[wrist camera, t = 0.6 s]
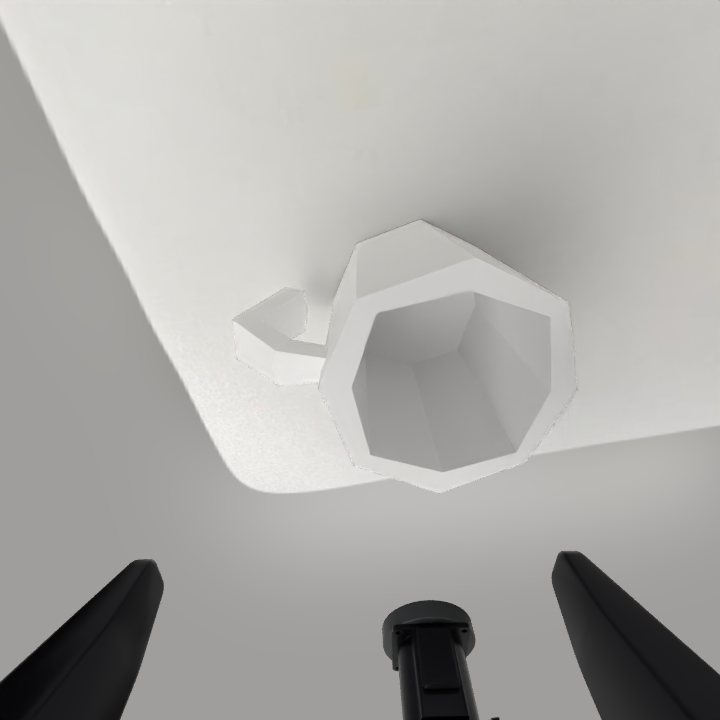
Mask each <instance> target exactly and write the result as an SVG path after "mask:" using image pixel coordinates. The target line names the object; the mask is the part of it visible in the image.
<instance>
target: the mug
mask: <svg viewBox="0 0 720 720" xmlns="http://www.w3.org/2000/svg"><path fill="white" fill-rule="evenodd" d="M307 312H308V309H307V303H306V297H305V292H304V290H298V289H292V288H286V287H285V288H284V289H282V290H280V291H279V292H277V293H275V294H274V295H272V296H270V297H269V298H267V299H265V300H264V301H262V302H260V303H259V304H257V305H255V306H254V307H252V308H250V309H249V310H247V311H245V312H244V313H242V314H240V315H239V316H237V317H235V318H234V319H232V322H233V329H234V336H235V346H236V355H237V360H239V361H240V362H242V363H243V364H245V365H246V366H248V367H249V368H251V369H252V370H254V371H256V372H257V373H259V374H260V375H262V376H263V377H265V378H266V379H268V380H269V381H271V382H272V383H274V384H275V385H277V386H286V385H298V384H310V383H319V384H318V389H319V391H320V393H321V395H322V398H323V400H324V402H325V404H326V406H327V408H328V411H329V413H330V415H331V417H332V419H333V422H334V424H335V426H336V428H337V430H338V433H339V435H340V437H341V439H342V441H343V444H344V446H345V448H346V450H347V452H348V455H349V457H350V459H351V461H352V463H353V466H356V467H359V468H362V469H365V470H368V471H371V472H374V473H377V474H380V475H383V476H386V477H390V478H393V479H396V480H399V481H402V482H405V483H409V484H411V485H414V486H417V487H421V488H424V489H427V490H430V491H433V492H436V493H443V492H445V491H448V490H451V489H454V488H456V487H459V486H462V485H464V484H467V483H470V482H473V481H476V480H478V479H481V478H484V477H487V476H489V475H492V474H495V473H497V472H500V471H503V470H506V469H509V468H512V467H514V466H517V465H520V464H523V463H525V462H526V461H527V460H528V459H529V457H530V456H531V454H532V453H533V452H534V450H535V449H536V448H537V446H538V445H539V443H540V442H541V441H542V439H543V438H544V437H545V435H546V434H547V432H548V431H549V430H550V428H551V427H552V425H553V424H554V423H555V421H556V420H557V419H558V417H559V416H560V414H561V413H562V412H563V410H564V409H565V408H566V406H567V405H568V403H569V402H570V401H571V399H572V398H573V397H574V395H575V394H576V392H577V391H578V388H577V378H576V367H575V357H574V346H573V336H572V325H571V315H570V304H569V303H568V302H567V301H565V300H563V299H562V298H560V297H558V296H557V295H555V294H553V293H552V292H550V291H548V290H547V289H545V288H544V287H542V286H540V285H539V284H537V283H535V282H534V281H532V280H530V279H529V278H527V277H525V276H524V275H522V274H520V273H519V272H517V271H515V270H514V269H512V268H510V267H509V266H507V265H505V264H504V263H502V262H500V261H499V260H497V259H495V258H494V257H492V256H490V255H489V254H487V253H485V252H484V251H482V250H480V249H479V248H477V247H475V246H474V245H472V244H470V243H468V242H465V241H463V240H461V239H459V238H457V237H455V236H453V235H451V234H449V233H447V232H445V231H443V230H441V229H439V228H437V227H435V226H433V225H431V224H429V223H427V222H425V221H423V220H421V219H420V220H417V221H415V222H412V223H409V224H407V225H404V226H401V227H399V228H396V229H393V230H391V231H388V232H385V233H383V234H380V235H377V236H375V237H372V238H369V239H367V240H364V241H362V242H359V243H357V244H356V246H355V249H354V251H353V253H352V256H351V258H350V261H349V263H348V266H347V268H346V270H345V273H344V275H343V278H342V280H341V283H340V285H339V288H338V290H337V292H336V295H335V297H334V303H333V308H332V314H331V319H330V324H329V330H328V335H327V340H326V345H320V344H314V343H308V342H302V341H296V340H292V339H293V338H295V337H296V336H298V335H299V334H301V333H303V332H304V331H305V330H306V321H307Z"/></svg>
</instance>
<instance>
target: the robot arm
mask: <svg viewBox="0 0 720 720" xmlns="http://www.w3.org/2000/svg"><path fill="white" fill-rule="evenodd" d="M552 584H553V588H554V591H555V594H556V597H557V600H558V603H559V606H560V609H561V613H562V616H563V619H564V622H565V625H566V628H567V631H568V634H569V637H570V640H571V643H572V647H573V650H574V653H575V655H576V658H577V661H578V664H579V667H580V669H581V672H582V674H583V677H584V679H585V681H586V684H587V686H588V688H589V691H590V693H591V696H592V698H593V700H594V703H595V705H596V707H597V710H598V712H599V714H600V717H601V719H602V720H720V675H719V674H718V673H717V672H716V671H715V670H714V669H713V668H712V667H710V666H709V665H708V664H707V663H706V662H705V661H704V660H702V659H701V658H700V657H699V656H698V655H697V654H696V653H694V652H693V651H692V650H691V649H690V648H689V647H688V646H687V645H685V644H684V643H683V642H682V641H681V640H680V639H679V638H677V637H676V636H675V635H674V634H673V633H672V632H671V631H670V630H668V629H667V628H666V627H665V626H664V625H663V624H662V623H661V622H659V621H658V620H657V619H656V618H655V617H654V616H653V615H651V614H650V613H649V612H648V611H647V610H646V609H644V608H643V607H642V606H641V605H640V604H639V603H638V602H637V601H636V600H634V599H633V598H632V597H631V596H630V595H629V594H628V593H626V592H625V591H624V590H623V589H622V588H621V587H620V586H619V585H617V584H616V583H615V582H614V581H613V580H612V579H611V578H609V577H608V576H607V575H606V574H605V573H604V572H603V571H602V570H600V569H599V568H598V567H597V566H596V565H595V564H594V563H592V562H591V561H590V560H589V559H588V558H587V557H586V556H584V555H583V554H582V553H580V552H578V551H561V552H560V553H559V554H558V556H557V559H556V563H555V566H554V569H553V572H552ZM163 590H164V583H163V580H162V577H161V574H160V572H159V569H158V567H157V564H156V562H155V561H154V560H152V559H150V560H149V559H144V560H135V561H133V562H132V563H130V564H129V565H128V566H127V567H126V568H125V569H124V570H122V571H121V572H120V573H119V574H118V575H117V576H116V577H115V578H114V579H113V580H112V581H110V582H109V583H108V584H107V585H106V586H105V587H104V588H103V589H102V590H101V591H99V592H98V593H97V594H96V595H95V596H94V597H93V598H92V599H91V600H90V601H88V603H86V604H85V605H84V606H83V607H82V608H81V609H80V610H78V611H77V612H76V613H75V614H74V615H73V616H72V617H71V618H70V619H69V620H68V621H66V622H65V623H64V624H63V625H62V626H61V627H60V628H59V629H58V630H57V631H55V632H54V633H53V634H52V635H51V636H50V637H49V638H48V639H47V640H46V641H45V642H43V643H42V644H41V645H40V646H39V647H38V648H37V649H36V650H35V651H34V652H33V653H32V654H30V655H29V656H28V657H27V658H26V659H25V660H24V661H23V662H21V663H20V664H19V665H18V666H17V667H16V668H15V669H14V670H13V671H12V672H11V673H9V674H8V675H7V676H6V677H5V678H4V679H3V680H2V681H1V682H0V720H120V718H121V716H122V713H123V711H124V708H125V706H126V703H127V701H128V698H129V696H130V693H131V691H132V688H133V685H134V683H135V681H136V678H137V675H138V673H139V669H140V666H141V663H142V660H143V657H144V654H145V651H146V647H147V644H148V641H149V637H150V634H151V631H152V627H153V624H154V621H155V618H156V614H157V611H158V608H159V604H160V601H161V598H162V594H163ZM469 637H470V627H469V624H468V623H466V622H457V623H424V624H397V625H394V626H393V627H392V665H393V670H395V671H399V677H400V689H401V701H402V712H403V720H479V715H478V711H477V707H476V702H475V698H474V693H473V689H472V684H471V680H470V675H469V671H468V667H467V662H466V656H467V650H468V643H469ZM492 720H499V717H496V718H492Z"/></svg>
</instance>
